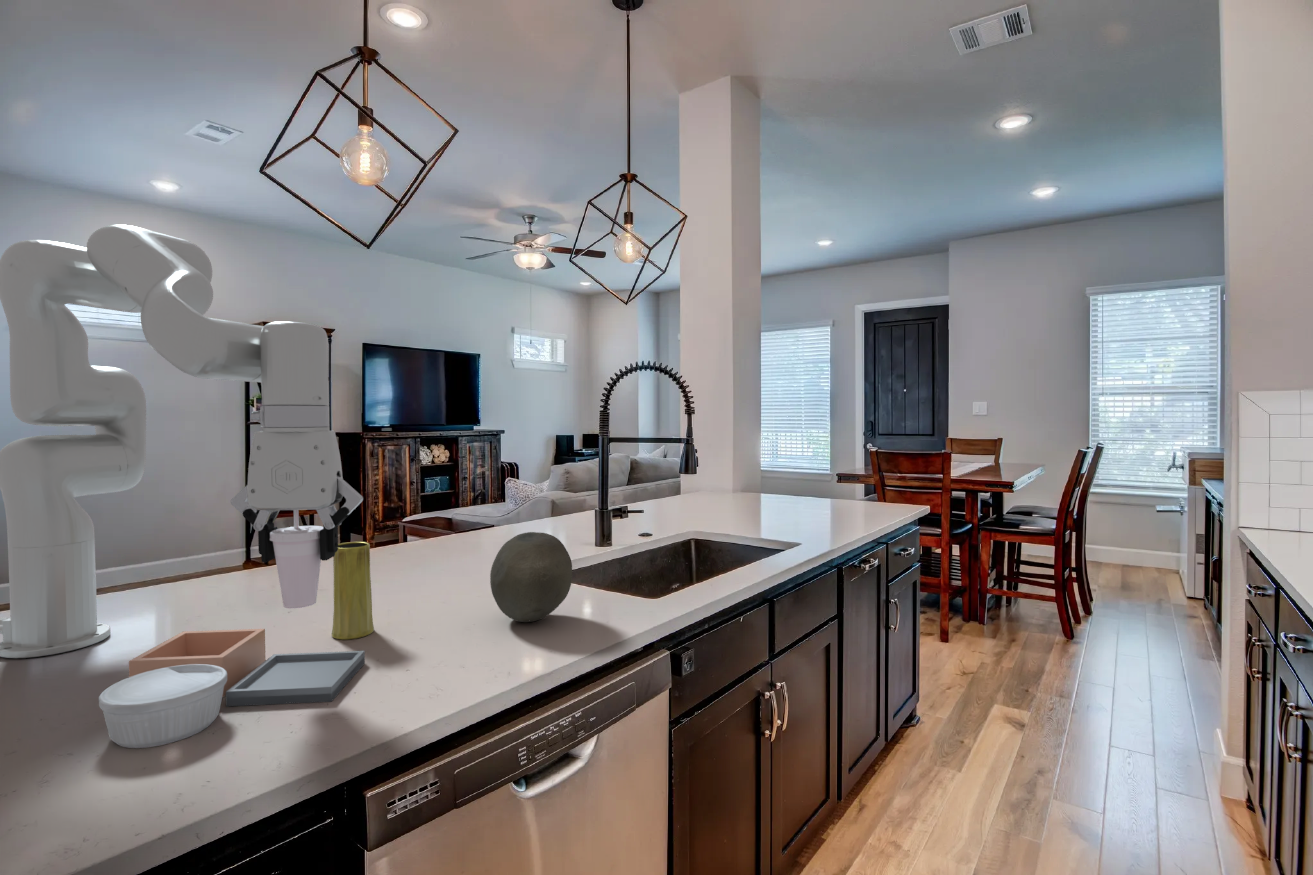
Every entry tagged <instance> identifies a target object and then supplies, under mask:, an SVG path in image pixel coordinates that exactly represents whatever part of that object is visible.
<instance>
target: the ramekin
mask: <svg viewBox="0 0 1313 875" xmlns="http://www.w3.org/2000/svg"><path fill="white" fill-rule="evenodd" d="M226 682H227V671H226V670H225V669H223V668H222V667H219V666H215V665H208V664H188V665H178V666H171V667H165V668H160V669H156V670H151V671H147V672H144V673H140V674H137V675H134V676H131V677H129V676H128V677H127V678H124V679H121V680H120V681H117V682H115V683H113V684H112V685H110V686H108V687H107V688H106V689H104V690H102V692H101V693H100V695H99V696H98V707H99V709H100V710H101V711H102V713H103V717H104V721H105V725H106V729H107V732H108V735H109V738H110V740H111V741H112V742H114V743H115V744H116V745H118V746H119V747H123V748H128V749H129V748H130V749H144V748H145V749H146V748H152V747H159V746H164V745H168V744H171V743H172V744H173V743H175V742H178V741H181V740H184V739H186V738H189V737H190V738H191V737H192V736H194V735H196V734H198V733H200V732H202V731H203V730H205V729H207V728H208V727H209V726H211V724H212V723H213V722H214V721H215V719H217V718H218V715H219V712H220V710H221V704H222V699H223V697H222V695H223V689H224V685H225V684H226Z"/></svg>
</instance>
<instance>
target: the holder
mask: <svg viewBox="0 0 1313 875" xmlns="http://www.w3.org/2000/svg"><path fill="white" fill-rule="evenodd" d="M266 660H267V658H266V628H251V629H250V628H245V629H244V628H243V629H242V628H241V629H221V630H220V629H215V630H213V629H211V630H187V631H186V630H185V631H181V632H179V633H178V634H176V635H174V636H172V637H171V638H168V639H167V640H165V641H162V642H161V643H159V644H157V645H156V646H154V647H152V648H150V649H148V650H146V651H145V652H143V653H141V654H140V655H137V656H136V657H133V658H132V659H129V661H128V668H129V670H128V671H129V672H128V673H129V674H128V678H129V677H131V676H134V675H137V674H140V673H144V672H147V671H151V670H156V669H160V668H165V667H171V666H178V665H188V664H208V665H215V666H219V667H222V668H223V669H225V670H226V671H227V682H226V684H225V685H224V689H223V695H222V698H225V697H226V691H227V690H229V689H230V688H231V687H232V686H234V685H235V684H236V683H238V682H239V681H240V680H241V679H243V678H244V677H245V676H247V675H248V674H249V673H250V672H252V671H253V670H254V669H255V668H257V667H258V666H259V665H261V664H262V663H263V662H264V661H266Z"/></svg>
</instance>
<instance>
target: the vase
mask: <svg viewBox="0 0 1313 875" xmlns="http://www.w3.org/2000/svg"><path fill="white" fill-rule="evenodd" d="M370 546H371V544H370V543H369V542H367V541H350V542H341V543H338V550H337V552H335V556H334V557H332V559H333V560H332V561H333V563H332V565H333V613H332V614H333V616H332V617H333V618H332V631H331V638H334V639H337V640H343V641H344V640H357V639H361V638H365V637H367V636H369V635H370V634H372V633H373V632H374V631H375V630H374V629H375V628H374V620H373V618H374V617H373V599H372V598H373V597H372V596H373V595H372V579H371V547H370Z"/></svg>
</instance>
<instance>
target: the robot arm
mask: <svg viewBox="0 0 1313 875" xmlns="http://www.w3.org/2000/svg"><path fill="white" fill-rule="evenodd" d="M212 279H213V266H212V263H211V261H210V259H209V256H208V255H207V254H206V252H205V251H204V250H203V249H202V248H201V247H200V246H198V245H197V244H195V243H193V242H192V241H190V240H187V239H184V238H180V237H175V236H173V235H168V234H165V233H161V232H157V231H154V230H151V229H146V228H143V227H138V226H134V225H127V224H111V225H106V226H105V225H104V226H102V227H100V228H98V229H96V230H95V231H94V232H93V233H91V234H90V235H89V238H88V239H87V242H86V247H84V246H80V245H75V244H71V243H67V242H59V241H53V240H45V239H26V240H20V241H17V242H15V243H12V244H11V245H10V246H8V247H7V248H6V249H5V250H4V252H3V253H2V255H1V257H0V303H1V307H2V309H3V311H4V314H5V318H6V321H7V325H8V331H9V395H10V398H9V399H10V404H11V410H12V413H13V414H14V416H15V417H16V418H17V419H18V420H19V421H21V422H23V423H25V424H27V425H33V426H40V427H41V426H42V427H94V429H95V434H51V435H36V436H34V435H33V436H29V437H23V438H18V439H15V440H13V441H11V442H9V443H8V444H6V445H4V446H3V447H2V448H1V449H0V491H1V492H0V493H1V496H2V497H1V498H2V502H3V504H4V510H5V517H6V530H7V533H6V534H7V553H8V554H7V556H8V557H7V558H8V580H9V581H8V584H9V613H10V614H9V615H10V617H0V634H1V635H2V641H0V658H7V659H26V658H27V659H28V658H38V657H44V656H51V655H57V654H62V653H67V652H70V651H75V650H79V649H83V648H85V647H89V646H91V645H95V644H97V643H100V642H101V641H104V640H105V639H107V638H108V637H109V636H110V635H111V632H112V631H111V626H110V625H108V624H106V623H102V622H101V623H100V622H98V610H97V609H98V607H97V606H98V605H97V575H96V574H97V572H96V571H97V570H96V565H97V564H96V538H95V537H96V536H95V534H96V533H95V525H94V522H93V520H92V517H90V514H88V512H87V511H86V510H85V509H84V508H83V507H82V506H81V505H80V504H79V503H78V501H77V500H76V499H75V498H77V497H83V496H93V495H100V494H101V495H102V494H110V493H119V492H123V491H128V490H131V489H133V488H135V487H136V486H137V485H138V484H139V483H140V482H141V481H142V478H143V476H144V473H145V470H146V460H147V400H146V399H147V398H146V393H145V391H144V388H143V386H142V384H141V382H140V380H139V379H138V378H137V377H136V376H135V375H134V374H133V373H131V371H128V370H126V369H123V368H119V367H115V366H104V365H103V366H101V365H91V364H90V361H89V360H90V359H89V338H88V334H87V332H86V329H85V328H84V326H83V325H82V323H81V321H80V320H79V319H78V318H77V317H76V315H75V314H74V313H73V312H72V311H71V310H70V308H68V307H67V306H66V304H68V305H77V306H84V307H87V308H88V307H89V308H96V309H101V310H102V309H103V310H111V311H116V312H123V313H134V314H135V313H136V314H137V313H139V314H140V323H141V329H142V332H143V335H144V337H145V341H146V342H147V343H148V344H149V346H150V347H151V348H152V349H153V350H154V351H156V353H157V354H159V355H160V356H161V357H162V358H163V359H164V360H165V361H167V362H168V363H169V364H171V365H172V366H173V367H175V368H176V369H178V370H179V371H181V372H183V373H185V374H187V375H189V376H192V377H193V378H194V377H195V378H198V379H203V380H216V381H217V380H219V381H220V380H221V381H234V382H237V381H238V382H248V383H249V382H250V383H261V384H260V386H261V388H260V389H261V406H260V408H259V409H260V410H259V409H258V410H257V411H256V410H254V411H252V412H251V413H250V420H251V422H258V423H260V427H262V430H260V431H254V435H253V438H252V442H251V448H250V454H249V460H248V461H249V462H248V472H247V484H246V486H244V487H243V488H242V489H241V490H240V491H239V492H237V494H235V496H233V497H232V499H231V500H230V505H232V506H233V508H235V509H236V510H237V511H238V512H239V513H240V514H241V515H242V516H243V518H244V519H245V520H246V521H248V522H249V523H250V524H251V525H253V526H252V527H253V530H255V531H256V532H257V536H258V538H257V539H258V540H257V542H258V544H257V545H258V547H257V548H258V553H259V555H260V556H261V557H260V558H261V562H262V563H268V562H271V561H272V560H276V558H275V553H274V546H273V541H270V532H271V531H273V530H276V529H279V528H278V527H277V526H275V522H276V520H277V517H278V515H279V512H280V511H294V510H298V511H306V510H307V511H309V510H311V511H312V510H315V511H316V512H317V513H316V514H318V517H319V519H320V521H321V523H322V525H323V526H322V527H323V529H322V530H320V559H321V562H322V561H324V562H325V561H329V560H330V559H333V557H334V556H335V552H337V550H338V544H339V526H341V525H342V523H343V522H344V521H345V520H347V518H348V517H349V516H350V515H352V512H353V511H354V510H356V508H357V507H359V506H360V505H361V503H362V502H363V501H364V496H363V495H361V493H359V492H358V491H357V490H356V489H355V488H353V487H352V486H351V485H350V484H349V483H348V482H347V481H346V480H344V478H343V469H342V461H341V460H342V459H341V454H340V449H339V443H338V440H337V435H336V432H335V430H330V406H329V405H330V403H329V402H330V394H329V392H330V391H329V388H330V387H329V386H330V385H329V382H330V381H329V347H328V346H329V342H328V341H329V340H328V334H327V332H326V329H324V328H323V327H322V326H320V325H318V324H313V323H308V322H301V321H300V322H299V321H272V322H268V323H266V324H265V325H264V326H263V325H259V324H251V323H245V322H239V321H234V320H227V319H219V318H212V317H208V316H206V315H205V314H206V313H207V312H208V311H209V309H210V308H211V305H212V303H213V299H214V290H213V286H212V284H211V282H212ZM343 497H344V499H345V502H344V504H343V505H342V506H341V507H340V508H338V510H337V508H336V504H338V503H340V502H342V499H343Z"/></svg>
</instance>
